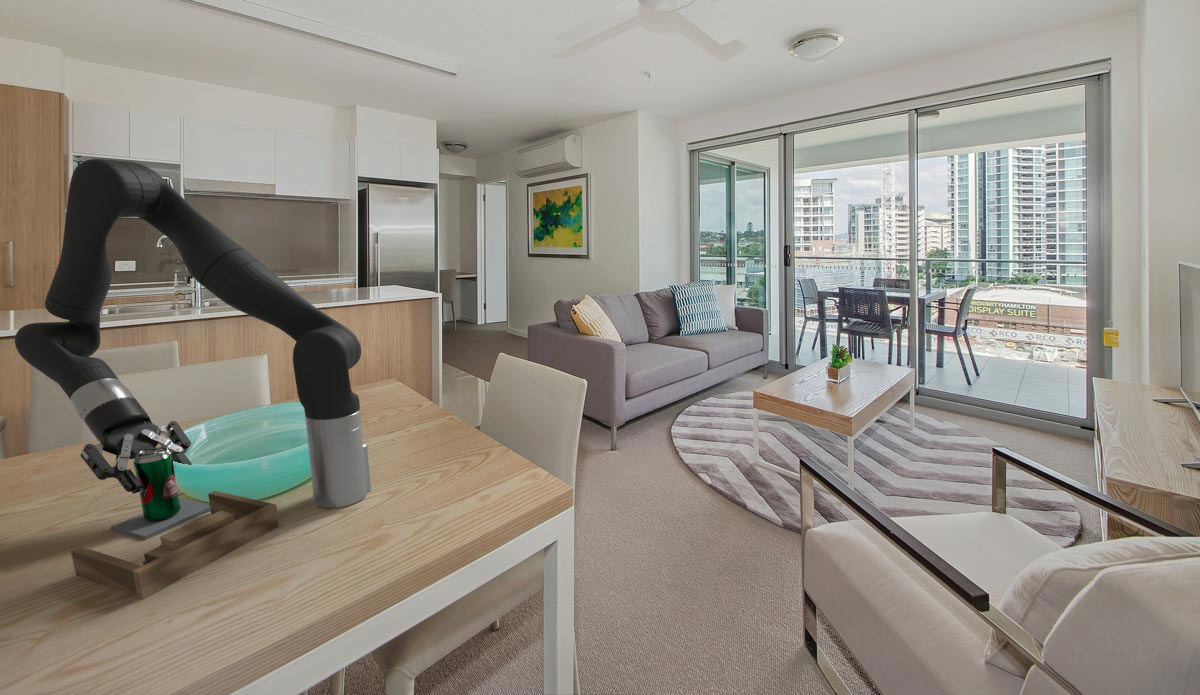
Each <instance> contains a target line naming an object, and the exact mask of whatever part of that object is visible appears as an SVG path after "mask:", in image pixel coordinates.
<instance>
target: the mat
mask: <svg viewBox="0 0 1200 695" xmlns="http://www.w3.org/2000/svg"><path fill="white" fill-rule="evenodd" d="M179 500H180V506H181V509H180V510H179V512H178V513H177V514H176V515H174V516H173V517H170V518H168V519H165V520H161V521H148V520H146V519H144V516H143V513H140V514H138V515H135V516H133V517H130V518H129V519H126V520H123V521H121V522H120V521H119V522H118V523H116V524H113V525H111V526H110V530H111V531H114V532H118V533H121V534H123V535H124V534H125V535H128V536H131V537H134V538H135V537H136V538H138V539H142V540H148V539H150V538H152V537H154V536H157V535H159V534H161V533H164V532H165V531H167V530H171V529H173V528H174V527H176V526H179V525H181V524H184V523H186V522H188V521H190V520H193V519H194V518H196V517H199V516H201V515H204V514H205V513H207V512H208V513H209V512H211V509H210V504H208V503H204V502H199V501H195V500H190V499H186V498H182V497H179Z"/></svg>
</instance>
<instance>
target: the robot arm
mask: <svg viewBox="0 0 1200 695" xmlns="http://www.w3.org/2000/svg"><path fill="white" fill-rule="evenodd" d="M118 218H138V219H140V220H142V221H144V222H146V223H147V224H149V225H151V226H152V227H154V228H155V229H156V230H158V231H159V232H160V233H161V234H162V235H164V236H166V237H167V239H169V240H170V241H171V242H172V243H173V244H174V245H175V247H176V249H177V250H178V252H179V254H180V256H181V258H182V261H183V263H184V265H185V266H186V269H187V271H188V272H189V274H190V275H191V277H192V278H194V280H196V282H197V283H198V284H200V285H201V286H202V287H203V288H205V289H207V291H208V292H210V293H211V294H213V295H214V296H215V297H217V298H218V299H219V300H220V301H222V302H223V303H225V304H226V305H228V306H230V307H232V308H234V309H236V310H237V311H239V312H241V313H244V314H245V315H249V316H250V317H253V318H254V319H257V320H260V321H262V322H264V323H267V324H269V325H271V326H273V327H275V328H277V329H279V330H281V331H282V332H283V333H285V334H286V335H288V336H289V337H290V338H291V339H293V340H294V341H295V344H294V346H293V350H292V364H293V365H292V366H293V372H294V373H293V374H294V379H295V380H294V381H295V385H296V392H297V397H298V400H299V402H300V404H301V406H302V407H303V409H304V419H305V427H306V428H305V429H306V436H307V437H306V438H307V445H308V446H307V447H308V456H309V465H310V467H309V468H310V476H311V483H312V484H311V485H312V494H313V503H314V505H315V506H316V507H317V508H323V509H337V508H344V507H346V506H350V505H353V504H356V503H357V502H360V501H361V500H363V499H364V498H366V496H367V493H368V492H369V491H371V490H372V487H371V486H372V485H371V474H370V463H369V453H368V452H369V451H368V449H369V448H368V445H367V444H366V443H364V439H363V437H364V436H363V425H362V417H361V416H362V415H361V406H360V405H361V403H360V397H359V395H358V394H357V393H355V392H354V391H353V390H352V386H351V378H350V371H349V370H350V369H352V368H354V367H355V366H356V365H357V364H358V363H359V361H360V358H361V356H362V347H361V343H360V341H359V339H358V337H357V336H356V335H355V333H354V332H353V331H351V330H350V329H349V328H348V327H346V326H345V325H344V324H342V323H340V322H339V321H337V320H336V319H334V318H333V317H331V316H329V315H328V314H327V313H325V312H323V311H322V310H320V309H318V308H317V307H316V306H314V305H313V304H312V303H310V302H308V300H306V299H305V298H304V297H303V296H301V295H300V294H299V293H298V292H296V290H294V288H292V287H291V286H290V285H289V284H288V283H286V282H285V281H284V280H282V279H281V278H280V277H278V276H277V275H276V274H275V273H274V272H272V271H271V270H270V269H269V268H268V267H267V266H265V265H264V264H263V263H262V262H261V261H260V260H258V259H257V258H256V257H255V256H254V255H252V253H250V252H248V251H247V250H246V249H245V248H243V247H242V246H241V245H240V244H238V243H237V242H235V241H234V240H233V239H231V238H230V237H229V235H227V234H226V233H224V231H222V230H221V229H219V228H218V227H217V226H216V225H215V224H213V223H212V222H211V221H209V220H208V219H207V218H205V217H204V216H203V215H202V214H201V213H200V212H199V211H197V210H196V209H195V208H194V207H193V206H192V205H191V204H190V203H189V202H188V201H187V200H186V199H185V198H184V197H182V195H181V194H180V193H179V192H178V191H176V189H175V188H173V186H171V184H170V183H168V181H167V180H165V179H164V178H163V177H162V176H161V175H159V173H157V172H156V171H155V170H153V169H152V168H150V167H148V166H146V165H143V164H142V163H138V162H134V161H127V160H116V159H104V158H91V159H86V160H84V161H82V162H80V163H79V164H78V165H77V166H76V167H75V168H74V171H73V173H72V175H71V178H70V182H69V187H68V194H67V204H66V212H65V218H64V219H65V220H64V228H63V229H64V230H63V231H64V232H63V240H62V245H61V246H62V247H61V253H60V256H59V261H58V265H57V268H56V271H55V272H54V276H53V278H52V281H51V283H50V287H49V289H48V292H47V295H46V297H45V300H44V307H45V309H46V311H47V312H48V313H49V314H51V315H52V316H55V317H57V318H60V319H63V320H67V321H51V322H50V321H49V322H46V321H45V322H32V323H28V324H25V325H23V326H22V327H20V328H19V329H18V330H17V332H16V334H15V335H14V336H15V337H14V344H15V349H16V350H17V352H18V354H19V355H20V356H21V358H22V359H23V360H24V361H25V362H27V363H28V364H29V365H30V366H31V367H33V368H35V369H36V370H38V371H39V372H41V374H43V375H45V376H46V377H47V378H49V379H50V380H52V381H54V382H55V383H56V384H57V385H58V386H60V388H61V389H62V390H63V392H64V393H65V394H66V396H67V398H69V400H70V401H71V403H72V405H73V408H74V409H75V411H76V413H77V414H78V416H79V418H80V419H81V420H82V421H83V422H84V424H85V425H86V426H87V427H88V429H89V430H90V432H91V433H92V434H93V436H94V437H95V438H96V440H97V441H99V442H100V443H97V444H93V443H88V444H85V445H84V447H83V449H82V451H81V452H80V458H81V459H82V460H83V462H84V463H85V464H86V465H87V467H88V468H89V469H90V470H91V472H92V473H93V474H94V475H95V476H96V478H97V479H98V480H100V481H104V480H105V481H106V479H108V478H109V479H112V478H114V479H116V480H117V481H118V483H119V484H121V487H122V488H123V489H124V490H125V491H126V492H127V493H131V494H133V495H134V494H137V493H139V491H140V490H141V488H142V485H141V483H140V482H139V480H138V479H137V478H136V474H134V472H133V471H132V469H130V468H129V469H128V464H129V460H135V458H136V457H135V455H136V454H137V453H139V452H141V451H144V450H147V449H152V448H160V447H163V448H167V449H168V451H169V452H170V453H171V454H172V460H173V461H175V462H178V463H182V464H188V465H192V466H193V464H192V462H191V461H190V459H189V458H188V457H187V455H186V453H187V451H188V450H189V448H190V447H191V445H192V442H191V440H190V439H189V437H188V436H187V435H186V433H185V431H184V430H183V429H182V428H181V426H180V424H179V423H178V422H177V421H175V420H170V422H169V423H168V424H165V425H161V426H158V425H157V424H154V423H153V422H152V420H151V418H150V416H149V415H148V413H147V411H146V410H145V409H144V407H142V405H141V403H140V402H139V401H138V400H137V398H136V397H135V396H134V395H133V393H132V392H131V390H130V389H129V388H128V387H127V386H126V385H124V384H123V383H122V381H120V379H119V378H118V376H117V375H116V373H115V372H114V371H113V369H112V368H111V367H110V366H109V364H107V362H105V361H104V360H103V359H101V358H97V357H94V356H93V357H92V355H94V354H95V353H96V352H97V351H98V349H99V348H100V345H101V310H102V307H103V305H104V303H105V299H106V297H107V295H108V292H109V290H110V287H111V283H112V277H113V276H112V266H111V263H110V261H109V256H108V253H107V240H108V236H109V234H110V231H111V230H112V228H113V227H114V224H115V223H116V222H117V220H118ZM162 435H163V436H162ZM164 436H165V437H164ZM158 445H160V446H158ZM104 452H105V453H109V454H111V455H115V459H114V460H115V461H114V466H111V464H110V463H109V462H108V461H107V460H106V458H105V457H104V456H103V453H104Z"/></svg>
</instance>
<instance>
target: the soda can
mask: <svg viewBox="0 0 1200 695" xmlns="http://www.w3.org/2000/svg"><path fill="white" fill-rule="evenodd" d="M159 447H160V448H152V449H147V450H144V451H141V452H139V453H137V454H136V455H135V457H136V458H134V459H133V461H132V462H133V467H134V468H133V469H134V471H135V472H134V473H135V474H134V475H135V476H136V478H137V479H138V480H139V482H140V483H141V485H142V488H141V490H140V491H139V492H138V493H139V498H140V500H139V501H140V504H141V509H142V510H141V511H142V514H143V516H144V519H146V520H148V521H161V520H165V519H168V518H170V517H173V516H174V515H176V514H177V513H178V512H179V510H180V509H181V506H180V500H179V499H180V496H179V495H180V494H179V489H178V484H177V483H178V482H177V479H176V473H175V468H174V466H175V465H174V464H173V459H172V454H171V453H170V452H169V451H168V449H167V448H163V447H161V446H159Z"/></svg>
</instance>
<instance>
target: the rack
mask: <svg viewBox="0 0 1200 695" xmlns="http://www.w3.org/2000/svg"><path fill="white" fill-rule="evenodd" d="M207 495H208V503H209V505H210V509H211V510H210V515H212V514H214V513H216V512H219V511H221V510H222V511H225V512H228V513H231V514H234V516H235V521H234V522H232V523H230V524H228V525H226V526H224V527H222V528H220V529H218V530H216V531H214V532H212V533H210V534H208V535H205V536H203V537H201V538H199V539H197V540H195V541H193V542H191V543H189V544H187V545H185V546H183V547H181V548H179V549H177V550H175V551H173V552H171V553H169V554H167V555H164V556H162V557H160V558H158V559H156V560H154V561H152V562H150V563H148V564H146V565H144V566H143V565H141V564H138V563H135V562H131V561H128V560H125V559H122V558H118V557H115V556H112V555H109V554H107V553H103V552H100V551H96V550H93V549H90V548H88V547H84V546H80V547H77V548H75V549H72V550H70V553H71V558H72V563H73V569H74V573H75V576H76V577H79V578H81V579H85V580H88V581H89V582H94V583H95V584H97V585H98V584H99V585H102V586H104V587H107V588H109V589H113V590H115V591H118V592H121V593H124V594H128V595H131V596H134V597H137V598H139V599H142V600H144V599H146V598H148V597H150V596H152V595H153V594H156V593H157V592H159V591H162V590H163V589H164V588H166V587H168V586H170V585H172V584H174V583H176V582H178V581H179V580H182V579H183V578H185V577H187V576H189V575H190V574H192V573H194V572H196V571H198V570H200V569H201V568H203V567H205V566H207V565H209V564H211V563H213V562H215V561H216V560H218V559H220V558H222V557H224V556H225V555H228V554H229V553H231V552H234V551H235V550H237V549H239V548H241V547H243V546H244V545H246V544H249V543H250V542H252V541H253V540H255V539H257V538H259V537H261V536H263V535H264V534H267V533H268V532H270V531H272V530H275V529H276V528H278V527H279V526H280V524H279V517H278V507H277V506H278V505H277V504H275V503H271V502H267V501H262V500H257V499H253V498H249V497H245V496H241V495H235V494H231V493H227V492H222V491H217V490H214V491H211V492H209V493H207Z"/></svg>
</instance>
